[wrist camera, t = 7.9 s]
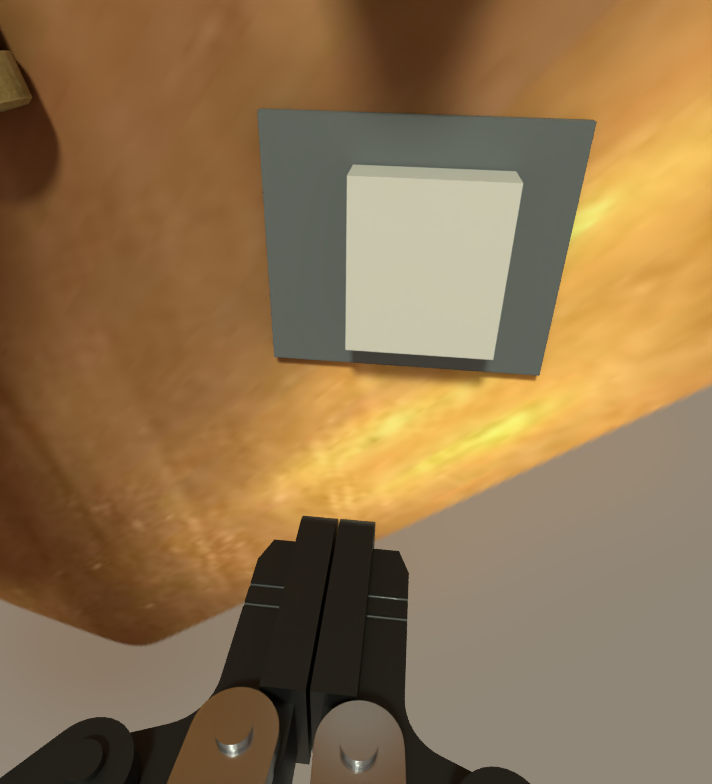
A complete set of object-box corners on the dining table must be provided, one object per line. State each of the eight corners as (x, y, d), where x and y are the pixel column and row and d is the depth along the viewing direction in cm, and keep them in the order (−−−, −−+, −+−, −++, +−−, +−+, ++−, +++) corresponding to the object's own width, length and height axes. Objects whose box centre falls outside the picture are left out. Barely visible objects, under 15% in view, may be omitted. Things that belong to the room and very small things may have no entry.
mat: (276, 351, 31) (274, 356, 31) (260, 108, 25) (257, 110, 24) (537, 369, 30) (539, 375, 30) (593, 119, 24) (596, 121, 23)
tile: (345, 349, 27) (493, 360, 27) (347, 175, 23) (523, 183, 22) (350, 328, 29) (488, 337, 29) (353, 164, 25) (515, 170, 24)
